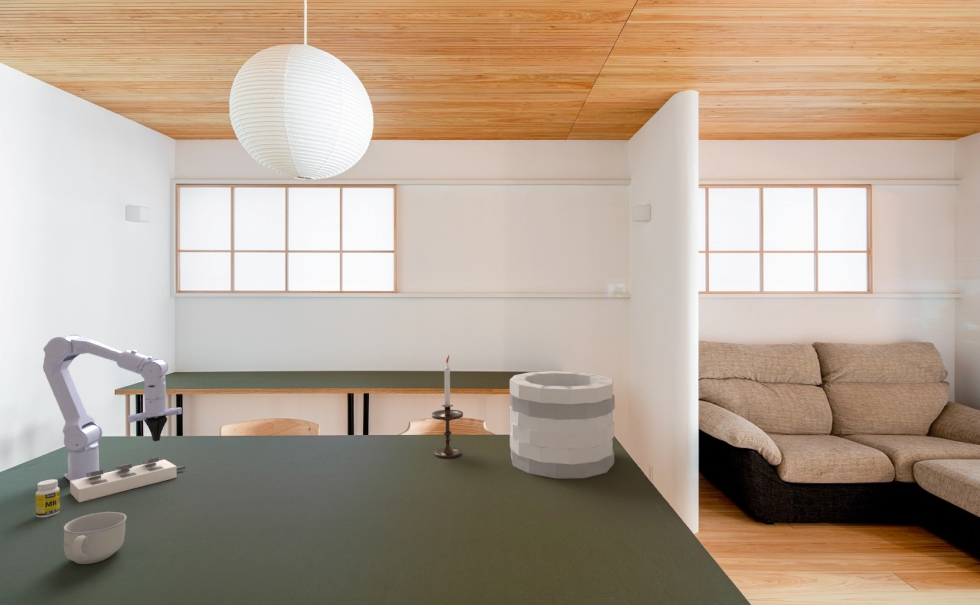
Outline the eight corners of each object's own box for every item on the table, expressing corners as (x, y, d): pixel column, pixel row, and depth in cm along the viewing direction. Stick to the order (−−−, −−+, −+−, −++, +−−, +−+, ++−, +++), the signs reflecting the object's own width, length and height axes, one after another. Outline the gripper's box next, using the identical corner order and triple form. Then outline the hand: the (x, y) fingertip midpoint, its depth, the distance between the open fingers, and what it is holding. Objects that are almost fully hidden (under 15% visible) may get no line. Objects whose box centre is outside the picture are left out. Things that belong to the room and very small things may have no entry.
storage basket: (506, 445, 190) (505, 371, 190) (599, 443, 192) (599, 370, 191) (514, 480, 155) (514, 390, 155) (628, 478, 157) (628, 388, 156)
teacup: (87, 545, 116) (86, 510, 116) (137, 543, 117) (137, 508, 117) (38, 580, 103) (37, 540, 102) (96, 577, 103) (95, 538, 103)
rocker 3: (142, 464, 159) (142, 460, 159) (153, 462, 161) (152, 458, 162) (148, 463, 156) (147, 459, 156) (158, 461, 158) (158, 457, 158)
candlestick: (469, 452, 182) (468, 353, 181) (450, 461, 173) (450, 357, 172) (444, 447, 188) (444, 351, 187) (425, 455, 178) (425, 355, 178)
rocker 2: (115, 470, 154) (115, 466, 154) (126, 468, 156) (126, 463, 156) (120, 470, 151) (120, 466, 151) (131, 467, 153) (131, 463, 153)
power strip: (70, 493, 147) (69, 478, 146) (178, 466, 168) (178, 454, 168) (79, 502, 140) (78, 487, 140) (190, 473, 162) (190, 460, 162)
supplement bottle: (45, 519, 130) (44, 486, 130) (30, 517, 131) (30, 484, 131) (64, 510, 135) (64, 479, 135) (50, 509, 136) (49, 477, 135)
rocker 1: (86, 477, 148) (86, 472, 149) (98, 474, 151) (98, 470, 151) (91, 476, 145) (90, 472, 146) (103, 474, 147) (102, 469, 148)
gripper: (132, 403, 155) (133, 448, 156) (185, 395, 166) (185, 437, 167) (125, 400, 160) (126, 443, 160) (176, 393, 171) (177, 433, 171)
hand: (156, 440), depth 164 cm, fingers closed
